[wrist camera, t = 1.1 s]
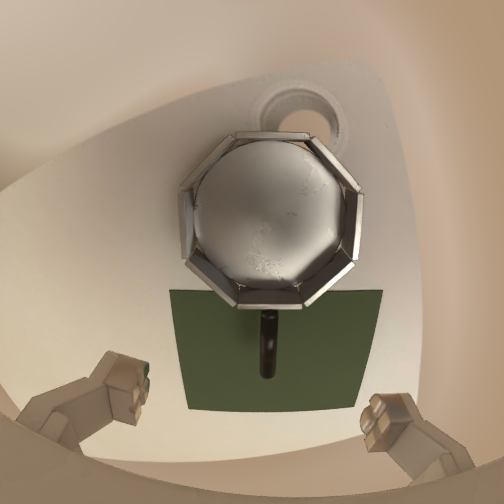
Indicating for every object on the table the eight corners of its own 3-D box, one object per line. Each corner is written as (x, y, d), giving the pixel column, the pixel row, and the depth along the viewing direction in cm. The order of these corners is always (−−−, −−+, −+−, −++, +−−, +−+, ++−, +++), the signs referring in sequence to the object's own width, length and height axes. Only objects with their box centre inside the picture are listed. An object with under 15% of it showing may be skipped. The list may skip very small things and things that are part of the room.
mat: (382, 290, 27) (382, 290, 27) (353, 406, 32) (354, 406, 32) (169, 289, 27) (169, 290, 27) (188, 408, 32) (188, 408, 32)
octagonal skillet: (189, 137, 23) (174, 133, 18) (348, 139, 23) (368, 137, 18) (202, 350, 29) (194, 380, 25) (329, 349, 29) (339, 379, 25)
